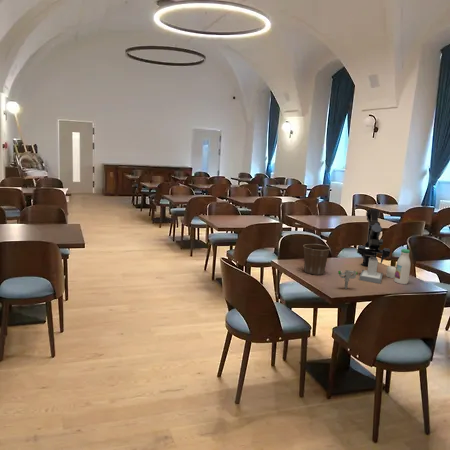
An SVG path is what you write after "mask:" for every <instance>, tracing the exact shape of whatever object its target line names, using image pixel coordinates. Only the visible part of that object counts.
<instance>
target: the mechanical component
mask: <svg viewBox="0 0 450 450" xmlns="http://www.w3.org/2000/svg"><path fill="white" fill-rule="evenodd" d="M337 274H338V275H339V276H338V277H340V278H341V279H344V289H345V290H348V288H349V287H348V286H349V282H350V280H351V279H353V280H354V279H356V277H357V275H358V271H356V270H345V271H344V272H343V271H342V270H338V273H337Z"/></svg>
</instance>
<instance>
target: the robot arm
mask: <svg viewBox="0 0 450 450" xmlns="http://www.w3.org/2000/svg"><path fill="white" fill-rule="evenodd" d="M380 214H381V210H379V209H378V208H369V209H367V210H366V212H365V216H366V220H367V222H368V224H367V225H368V226H367V240H366V241H367V242H366V243H365V244H364V245H362V244H359V245H358V246H357V250H356V253H357V254H359V255H360V256H361V257H362V259H363V260H362V263H361V264H360V265H362V266H365V267H367V268H368V263H369V258H370V257H377V256H378V254H381V258H380V265H382V264H383V262H384V259H386V258H389V257H390V254H391V249H390V248H386V247H383V249H379V248H380V246H383V245H384V239H382V238H380V235H381V233H382V232H383V227H382V226H381V222H379V217H380V216H381V215H380Z"/></svg>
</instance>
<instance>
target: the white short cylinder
mask: <svg viewBox="0 0 450 450" xmlns="http://www.w3.org/2000/svg"><path fill="white" fill-rule="evenodd" d="M395 271H396V266H394V265H393V266H392V265H387V267H386V274H385V277H387V278H390V279H394V278H395Z"/></svg>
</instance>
